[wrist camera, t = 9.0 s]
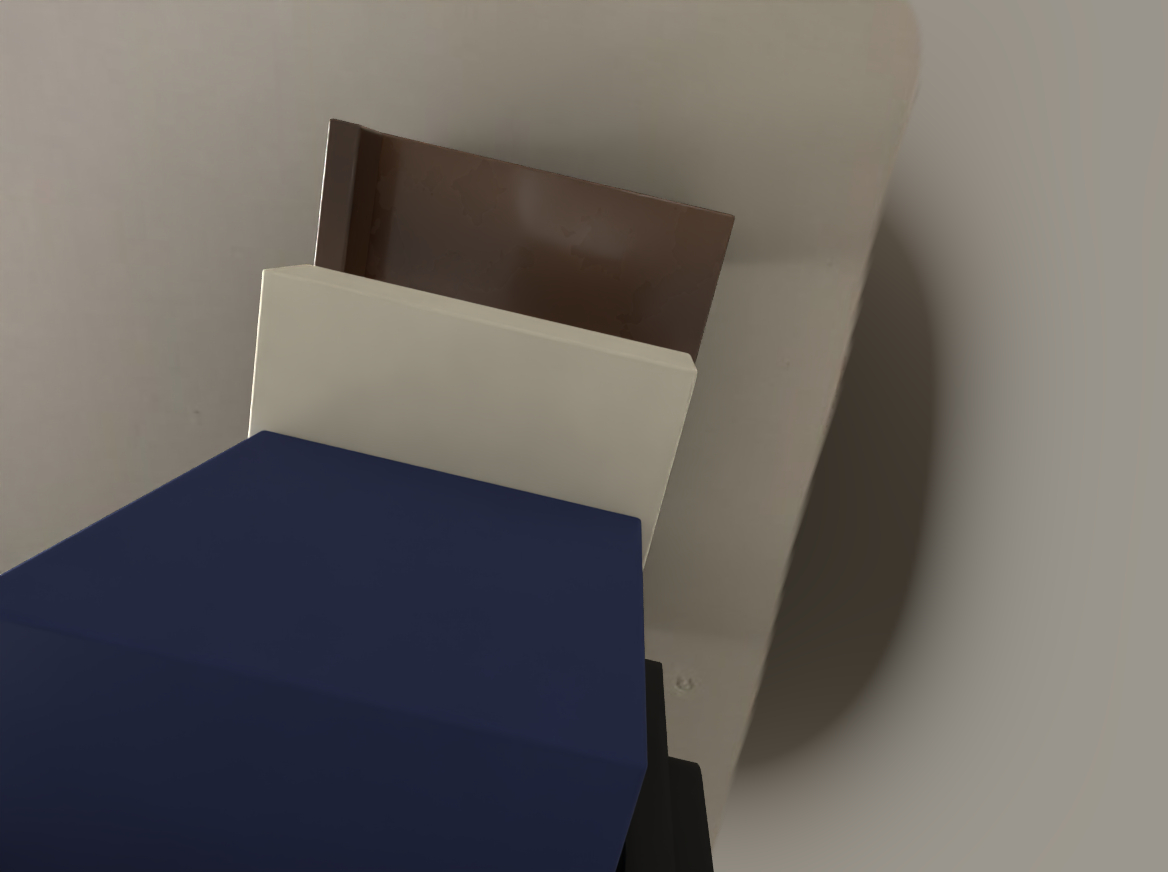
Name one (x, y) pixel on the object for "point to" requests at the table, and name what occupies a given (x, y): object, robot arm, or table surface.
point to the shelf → (518, 238)
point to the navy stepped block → (358, 610)
